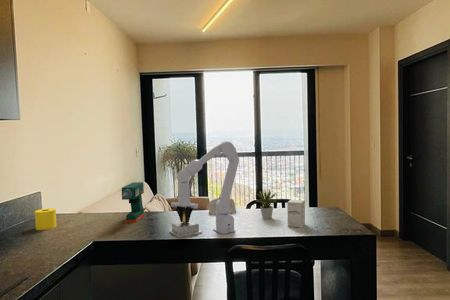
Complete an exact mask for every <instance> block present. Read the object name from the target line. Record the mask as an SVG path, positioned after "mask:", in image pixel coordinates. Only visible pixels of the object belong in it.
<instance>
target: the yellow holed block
mask: <svg viewBox="0 0 450 300" xmlns="http://www.w3.org/2000/svg"><path fill="white" fill-rule="evenodd" d="M56 211H57V210H56V208H53V207H51V208H41V209H37V210H35V211H34V215H35V216H34V218H35V230H37V231H44V230H52V229H54V228H56V227H57V213H56Z"/></svg>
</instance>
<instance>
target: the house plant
mask: <svg viewBox="0 0 450 300" xmlns="http://www.w3.org/2000/svg"><path fill="white" fill-rule="evenodd" d="M263 191H264V192H262V191H259V194H258V193H256V195H257V196H258V197H259V198H260V199H261V200H255V202H258V203H261V204H262V206H260V213H261V218H262V220H270V219H271V220H272V218H273V212H274V211H273V210H274V207H273V205H272V204H273V203H276V204H278V202H277V201H276V198H274V199H273V197H275V196H277V195H278V193H280V192H274V193H273V194H272V191H271V189H269V190H268V193H267V192H266V189H265V188H264V190H263Z"/></svg>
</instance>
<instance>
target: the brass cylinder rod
mask: <svg viewBox="0 0 450 300" xmlns="http://www.w3.org/2000/svg"><path fill="white" fill-rule="evenodd" d="M182 220H183V225H185V224H188V223H186V221H185V212H184V210H183V211H182Z"/></svg>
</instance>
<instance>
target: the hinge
mask: <svg viewBox="0 0 450 300" xmlns="http://www.w3.org/2000/svg"><path fill="white" fill-rule="evenodd" d="M217 200H218V198H214V199H212V200H210V201H209V202H208V204H209V205H208V214H209V215H212V216H213V215H214V216H215V215H216V211H217V207H216V201H217ZM229 205H230V209H229V210H230V214H237V208H236V204H235V201H234V199H233V198H230V201H229Z"/></svg>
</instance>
